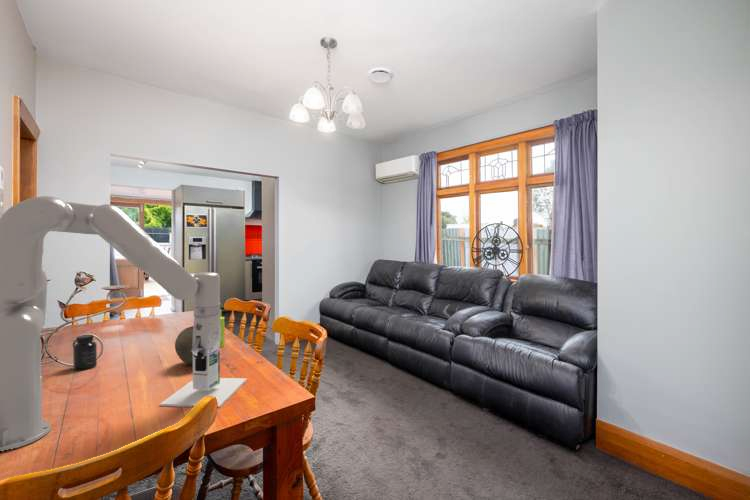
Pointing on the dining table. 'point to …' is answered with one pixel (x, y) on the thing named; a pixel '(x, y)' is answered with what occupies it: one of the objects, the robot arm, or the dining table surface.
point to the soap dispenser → (222, 329)
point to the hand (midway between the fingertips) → (206, 366)
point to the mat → (204, 393)
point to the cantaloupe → (185, 345)
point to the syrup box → (208, 370)
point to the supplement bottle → (84, 353)
